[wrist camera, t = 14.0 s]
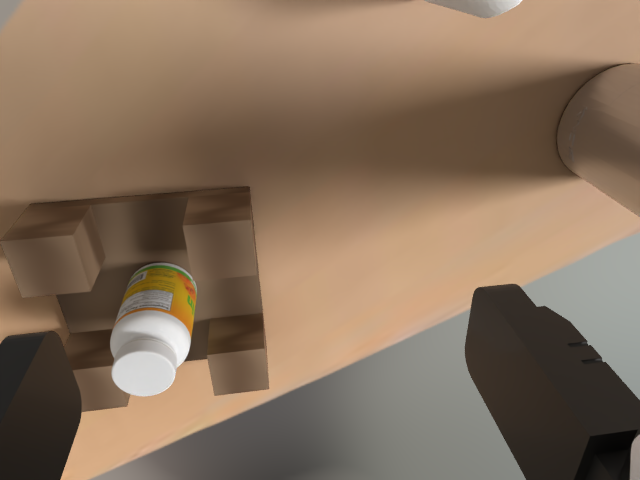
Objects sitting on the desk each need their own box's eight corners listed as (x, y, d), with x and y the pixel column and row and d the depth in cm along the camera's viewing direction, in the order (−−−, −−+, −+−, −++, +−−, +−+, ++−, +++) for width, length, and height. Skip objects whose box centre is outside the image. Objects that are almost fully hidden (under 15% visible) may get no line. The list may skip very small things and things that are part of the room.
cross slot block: (249, 186, 38) (250, 219, 34) (266, 344, 46) (269, 389, 42) (30, 204, 37) (-1, 241, 32) (87, 364, 45) (69, 413, 40)
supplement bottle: (196, 315, 42) (185, 404, 34) (129, 313, 41) (101, 404, 33) (198, 262, 40) (187, 344, 32) (127, 258, 39) (96, 342, 31)
